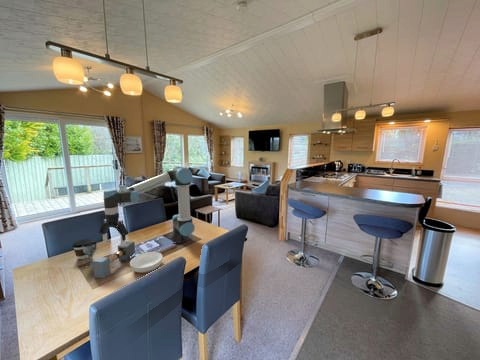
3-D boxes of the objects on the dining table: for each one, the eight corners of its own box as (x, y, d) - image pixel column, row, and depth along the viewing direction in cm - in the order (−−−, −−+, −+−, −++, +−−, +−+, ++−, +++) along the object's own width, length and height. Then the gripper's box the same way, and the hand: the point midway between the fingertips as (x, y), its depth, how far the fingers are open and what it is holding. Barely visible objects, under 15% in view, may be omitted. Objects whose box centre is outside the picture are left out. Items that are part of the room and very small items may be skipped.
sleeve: (127, 254, 145) (126, 241, 143) (135, 255, 144) (134, 241, 142) (118, 260, 137) (117, 246, 136) (127, 261, 136) (126, 247, 134)
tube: (127, 249, 144) (127, 244, 143) (132, 249, 143) (132, 244, 142) (106, 263, 125) (105, 257, 124) (111, 264, 124) (110, 258, 124)
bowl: (132, 263, 134) (131, 255, 133) (162, 257, 141) (162, 249, 140) (128, 280, 116) (127, 270, 115) (163, 272, 124) (163, 263, 123)
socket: (101, 272, 124) (99, 256, 122) (110, 273, 122) (109, 257, 121) (94, 277, 119) (92, 260, 117) (103, 278, 117) (102, 262, 116)
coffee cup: (96, 255, 143) (94, 240, 141) (79, 263, 133) (77, 247, 131) (87, 252, 147) (86, 237, 146) (70, 259, 138) (68, 243, 136)
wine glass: (102, 262, 134) (100, 242, 132) (90, 268, 127) (87, 247, 125) (94, 260, 137) (92, 240, 135) (81, 266, 129) (79, 245, 127)
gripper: (133, 212, 127) (134, 243, 130) (100, 210, 132) (103, 239, 135) (124, 216, 120) (126, 248, 123) (90, 213, 125) (93, 244, 127)
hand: (114, 244), depth 129 cm, fingers open, 13 cm apart
